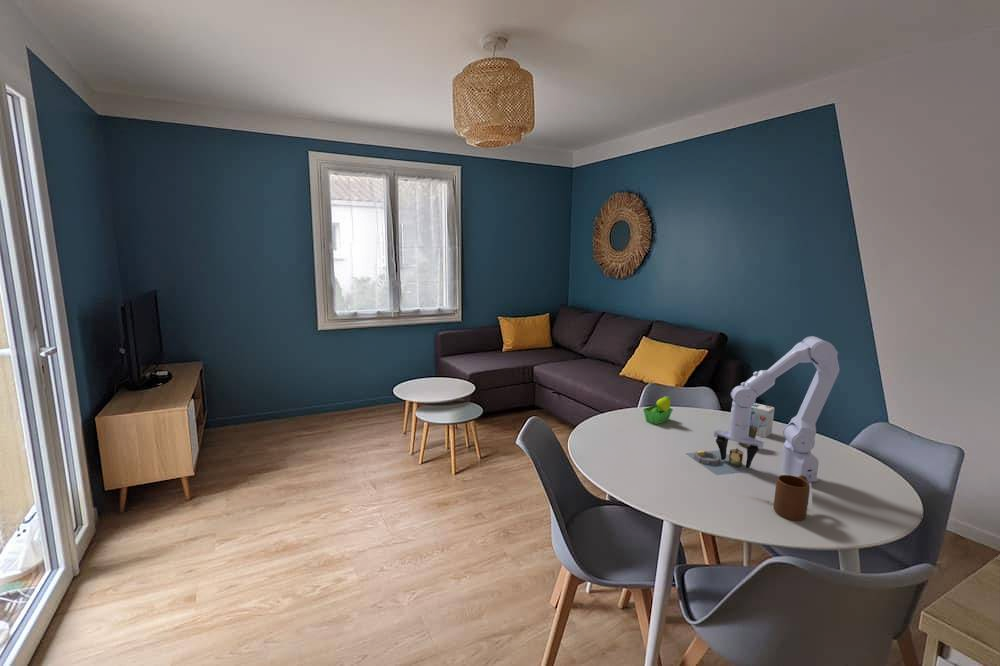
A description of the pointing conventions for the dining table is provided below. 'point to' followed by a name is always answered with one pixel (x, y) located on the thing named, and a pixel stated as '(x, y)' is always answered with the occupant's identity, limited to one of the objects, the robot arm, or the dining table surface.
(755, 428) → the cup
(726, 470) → the blue-grey flat slab
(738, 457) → the knob
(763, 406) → the light bulb box
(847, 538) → the dining table surface
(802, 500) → the mug
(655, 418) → the fruit basket
